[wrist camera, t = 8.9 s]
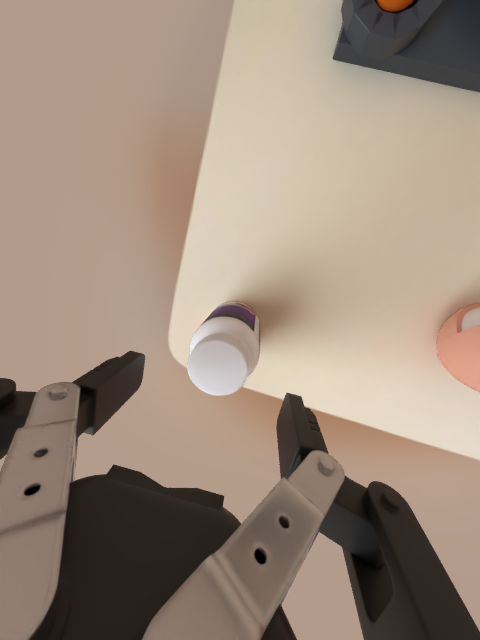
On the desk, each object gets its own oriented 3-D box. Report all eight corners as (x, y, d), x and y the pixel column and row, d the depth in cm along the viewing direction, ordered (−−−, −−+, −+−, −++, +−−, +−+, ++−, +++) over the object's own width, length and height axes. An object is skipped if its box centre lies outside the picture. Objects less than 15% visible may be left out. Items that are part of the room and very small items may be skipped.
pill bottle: (200, 313, 23) (160, 349, 14) (246, 292, 22) (236, 314, 13) (223, 356, 24) (200, 416, 15) (268, 338, 23) (273, 389, 14)
